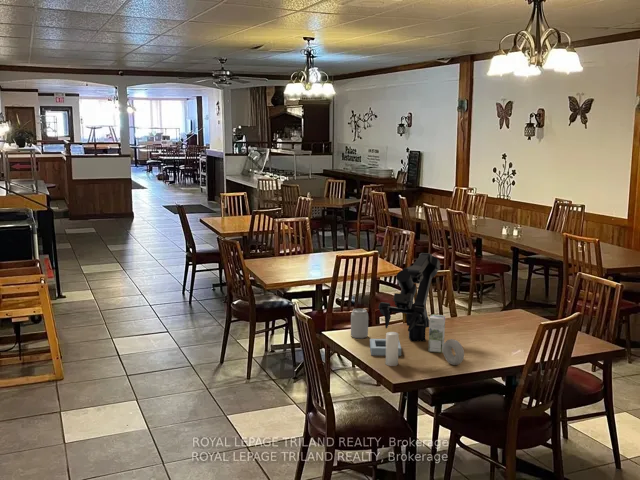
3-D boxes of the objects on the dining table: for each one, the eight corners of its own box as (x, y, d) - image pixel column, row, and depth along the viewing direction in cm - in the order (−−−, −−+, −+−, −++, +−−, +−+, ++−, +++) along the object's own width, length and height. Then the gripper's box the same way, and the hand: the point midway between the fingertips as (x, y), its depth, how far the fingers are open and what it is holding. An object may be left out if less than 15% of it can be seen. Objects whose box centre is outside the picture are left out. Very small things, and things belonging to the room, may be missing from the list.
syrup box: (444, 349, 262) (445, 314, 259) (442, 353, 256) (443, 318, 254) (430, 347, 264) (431, 313, 261) (428, 351, 258) (429, 317, 256)
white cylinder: (397, 361, 247) (398, 331, 245) (398, 366, 242) (399, 335, 240) (385, 361, 247) (385, 331, 245) (385, 365, 242) (386, 335, 240)
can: (368, 334, 281) (368, 308, 279) (367, 339, 274) (368, 312, 272) (351, 333, 282) (351, 307, 280) (350, 339, 274) (350, 312, 272)
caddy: (398, 345, 265) (398, 339, 265) (401, 355, 253) (401, 348, 253) (369, 345, 266) (369, 338, 265) (371, 355, 254) (371, 348, 253)
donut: (440, 361, 247) (441, 336, 246) (447, 359, 249) (447, 335, 247) (459, 369, 239) (460, 343, 237) (465, 367, 241) (466, 342, 239)
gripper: (380, 282, 254) (369, 315, 246) (425, 287, 246) (416, 322, 238) (386, 297, 262) (376, 330, 254) (430, 302, 254) (421, 336, 246)
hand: (397, 329), depth 247 cm, fingers open, 9 cm apart
